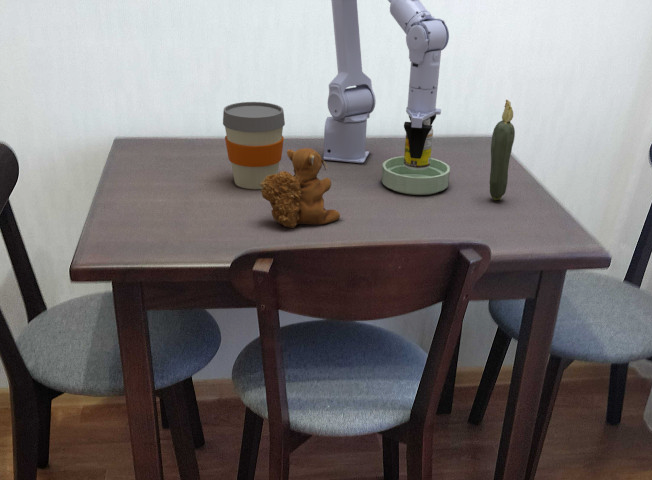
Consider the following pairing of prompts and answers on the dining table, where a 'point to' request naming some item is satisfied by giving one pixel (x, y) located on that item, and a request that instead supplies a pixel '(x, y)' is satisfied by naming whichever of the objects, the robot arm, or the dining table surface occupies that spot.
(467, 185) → the dining table surface
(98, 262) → the dining table surface
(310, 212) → the stuffed squirrel
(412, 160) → the supplement bottle
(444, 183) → the bowl
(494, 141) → the vegetable
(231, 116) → the reusable coffee cup
